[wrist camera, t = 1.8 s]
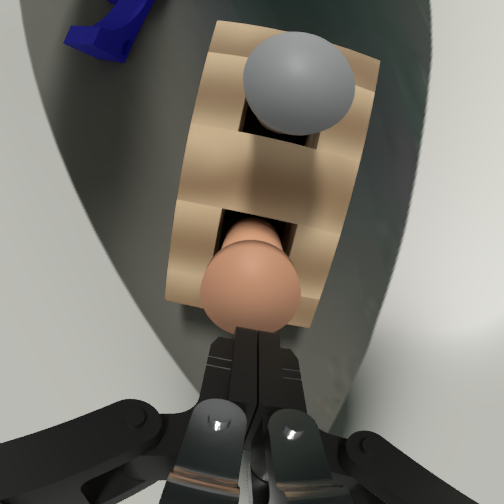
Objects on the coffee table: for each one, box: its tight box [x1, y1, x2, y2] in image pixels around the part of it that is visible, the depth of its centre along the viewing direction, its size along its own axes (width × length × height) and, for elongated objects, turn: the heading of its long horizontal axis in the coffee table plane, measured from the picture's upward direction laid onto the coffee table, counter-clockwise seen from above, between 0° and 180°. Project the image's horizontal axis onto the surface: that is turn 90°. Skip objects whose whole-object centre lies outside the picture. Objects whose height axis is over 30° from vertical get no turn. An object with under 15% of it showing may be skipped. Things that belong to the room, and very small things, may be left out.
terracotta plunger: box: [200, 218, 301, 334], centre depth 18 cm, size 5×5×8 cm
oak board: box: [165, 21, 380, 328], centre depth 21 cm, size 20×11×5 cm, turn 168°
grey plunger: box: [243, 32, 355, 135], centre depth 14 cm, size 5×5×8 cm
